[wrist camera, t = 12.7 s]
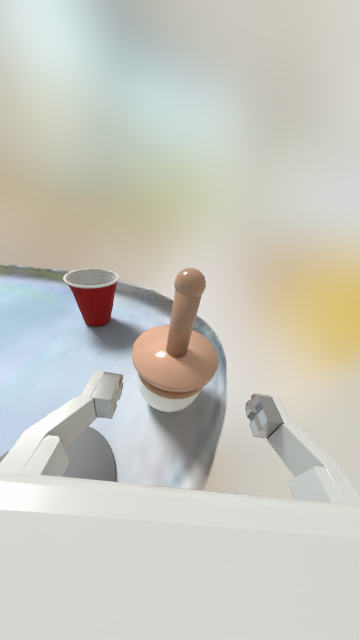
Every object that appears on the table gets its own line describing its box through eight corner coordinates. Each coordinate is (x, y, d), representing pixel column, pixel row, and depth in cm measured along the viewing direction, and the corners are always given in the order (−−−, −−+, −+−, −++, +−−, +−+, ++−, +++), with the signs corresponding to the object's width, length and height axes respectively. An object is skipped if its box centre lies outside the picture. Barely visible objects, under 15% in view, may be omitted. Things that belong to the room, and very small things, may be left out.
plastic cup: (70, 311, 42) (62, 265, 36) (114, 308, 48) (113, 267, 42) (72, 337, 35) (61, 284, 29) (123, 329, 40) (124, 283, 34)
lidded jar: (199, 377, 32) (213, 342, 27) (190, 436, 23) (209, 398, 18) (149, 361, 33) (154, 324, 28) (122, 411, 24) (122, 369, 19)
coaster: (-172, 744, 8) (-178, 747, 8) (-10, 441, 19) (-11, 440, 19) (115, 585, 13) (115, 585, 13) (116, 415, 24) (115, 414, 23)
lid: (136, 402, 17) (140, 290, 10) (129, 331, 26) (129, 249, 19) (233, 382, 21) (280, 294, 14) (197, 327, 30) (215, 259, 23)
